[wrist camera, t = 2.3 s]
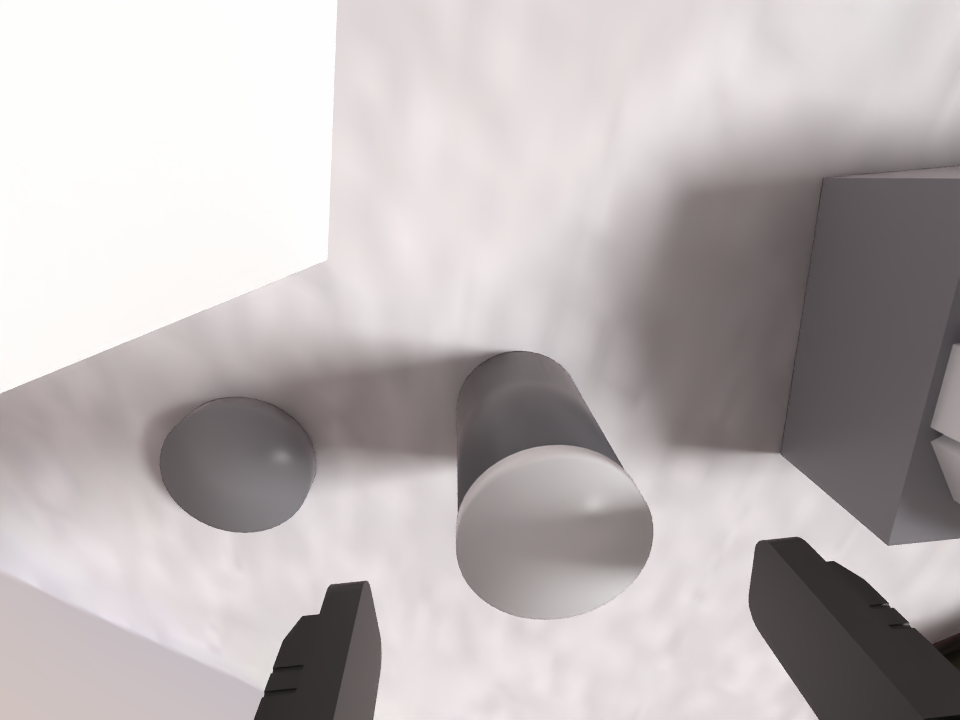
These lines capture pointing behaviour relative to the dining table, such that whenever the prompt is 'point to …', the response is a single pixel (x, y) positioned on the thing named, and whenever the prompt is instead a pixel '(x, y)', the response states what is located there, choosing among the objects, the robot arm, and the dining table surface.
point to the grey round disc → (238, 464)
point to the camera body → (883, 354)
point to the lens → (542, 494)
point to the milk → (154, 164)
